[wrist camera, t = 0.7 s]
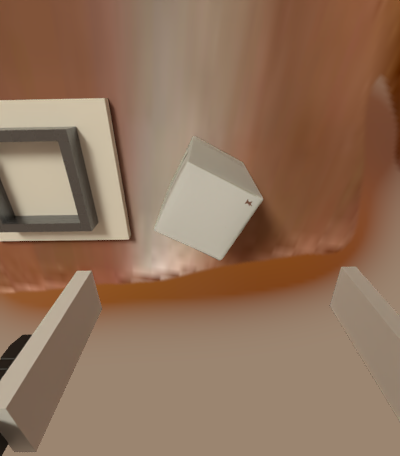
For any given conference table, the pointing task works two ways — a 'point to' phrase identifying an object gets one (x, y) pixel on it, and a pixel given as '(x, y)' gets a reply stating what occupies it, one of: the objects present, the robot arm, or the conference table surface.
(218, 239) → the supplement box
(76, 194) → the collar
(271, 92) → the conference table surface
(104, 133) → the base plate
